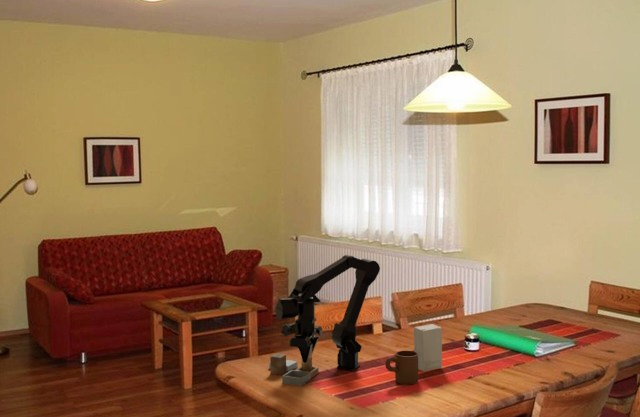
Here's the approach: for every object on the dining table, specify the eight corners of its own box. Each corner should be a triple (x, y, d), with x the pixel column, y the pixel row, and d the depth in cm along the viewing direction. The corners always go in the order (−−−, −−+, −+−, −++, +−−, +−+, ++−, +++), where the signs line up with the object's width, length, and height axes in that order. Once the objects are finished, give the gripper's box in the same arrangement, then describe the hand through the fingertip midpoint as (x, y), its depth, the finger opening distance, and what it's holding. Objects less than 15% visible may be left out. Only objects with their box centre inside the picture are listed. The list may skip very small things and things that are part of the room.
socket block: (318, 373, 237) (318, 367, 237) (311, 378, 231) (311, 372, 231) (302, 370, 239) (302, 365, 239) (295, 375, 234) (295, 370, 234)
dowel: (313, 368, 236) (313, 342, 236) (310, 371, 233) (310, 345, 232) (303, 367, 237) (303, 341, 237) (300, 370, 234) (300, 344, 233)
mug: (391, 388, 221) (391, 360, 220) (379, 381, 227) (379, 353, 227) (422, 382, 226) (423, 354, 225) (409, 376, 233) (409, 349, 232)
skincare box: (432, 364, 246) (433, 323, 245) (442, 368, 240) (443, 327, 239) (413, 367, 242) (413, 326, 241) (422, 372, 237) (423, 329, 235)
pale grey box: (297, 368, 244) (297, 361, 243) (288, 373, 238) (287, 366, 238) (278, 364, 248) (278, 358, 248) (269, 369, 243) (269, 362, 242)
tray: (310, 379, 230) (310, 372, 230) (301, 386, 224) (301, 378, 223) (291, 377, 233) (291, 369, 233) (282, 383, 226) (282, 376, 226)
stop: (286, 371, 239) (286, 354, 238) (280, 374, 235) (280, 357, 235) (276, 370, 240) (275, 353, 240) (270, 373, 237) (270, 356, 236)
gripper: (292, 308, 245) (293, 351, 246) (274, 320, 227) (274, 367, 228) (322, 310, 242) (323, 353, 243) (306, 322, 224) (306, 369, 225)
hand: (306, 360), depth 235 cm, fingers closed on dowel, 4 cm apart
